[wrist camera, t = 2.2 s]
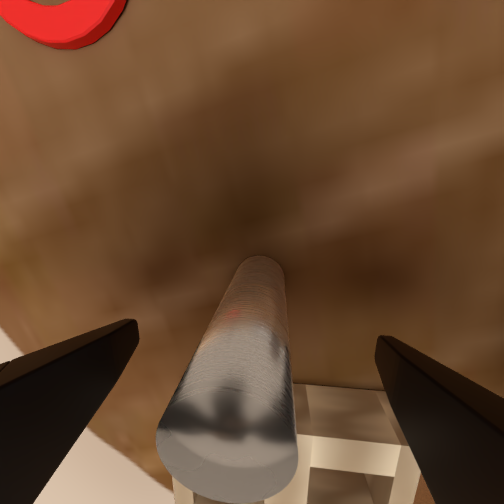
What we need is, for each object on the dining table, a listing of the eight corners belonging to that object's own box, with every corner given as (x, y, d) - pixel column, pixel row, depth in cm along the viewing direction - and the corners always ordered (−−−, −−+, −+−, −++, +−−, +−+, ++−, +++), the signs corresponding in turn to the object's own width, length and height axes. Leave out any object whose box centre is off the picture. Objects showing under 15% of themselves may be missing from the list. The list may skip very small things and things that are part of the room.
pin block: (394, 392, 16) (426, 448, 12) (375, 489, 18) (398, 560, 14) (188, 374, 17) (166, 419, 14) (194, 467, 19) (177, 526, 16)
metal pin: (285, 256, 14) (302, 400, 4) (283, 302, 15) (294, 511, 5) (235, 254, 14) (148, 386, 5) (235, 299, 15) (162, 493, 5)
